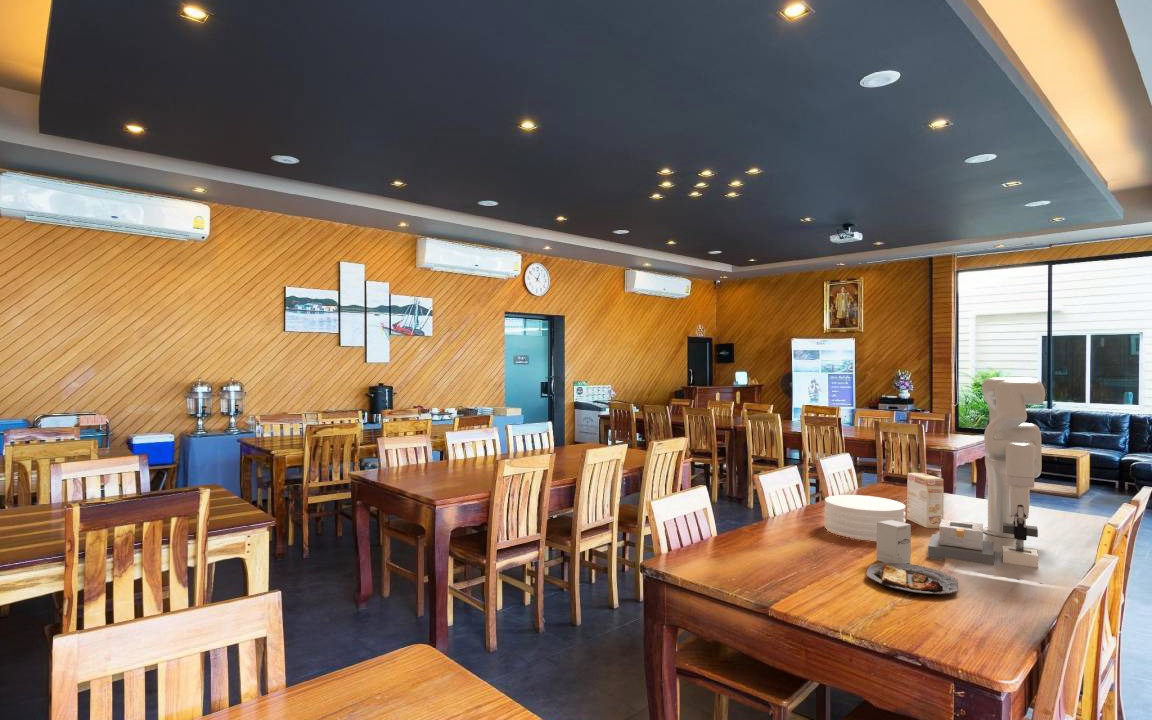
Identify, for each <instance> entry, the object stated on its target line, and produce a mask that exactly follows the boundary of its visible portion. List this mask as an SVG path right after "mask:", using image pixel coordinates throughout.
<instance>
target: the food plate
mask: <svg viewBox="0 0 1152 720" xmlns="http://www.w3.org/2000/svg"><path fill="white" fill-rule="evenodd" d="M865 575H866V577H867V578H868V579H870V580H871V581H873V582H875V583H878V584H880V585H881V586H886V588H887V587H888V588H892V589H897V590H901V591H906V592H910V593H912V594H921V595H922V594H923V595H940V596H941V595H946V596H948V595H952V593H953V594H955V593H957V592H958V589H959V580H958V579H957V578H956V577H954V576H952V575H949V574H947V573H945V572H943V571H940V570H937V569H933V568H932V567H931V568H930V567H927V566H921V565H919V564H913V563H912V564H911V563H907V564H904V563H884V562H878V563H874V564H871V565H868V568H867V570H866V573H865Z"/></svg>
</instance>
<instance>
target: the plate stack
mask: <svg viewBox="0 0 1152 720" xmlns="http://www.w3.org/2000/svg"><path fill="white" fill-rule="evenodd" d="M824 504H825V505H824V510H825V511H824V529H825V528H826V529H827V530H829V531H831V532H833V533H835V534H839V535H842V536H846V537H850V538H855V539H861V540H870V541H877V522H881V521H887V520H894V521H898V522H903V523H906V519H905V518H906V505H905V504H904V503H902V502H900V501H897V500H894V499H889V498H885V497H878V496H872V495H861V494H836V495H829V496H827V497H825V498H824ZM870 541H869V542H870Z"/></svg>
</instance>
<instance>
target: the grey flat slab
mask: <svg viewBox="0 0 1152 720" xmlns="http://www.w3.org/2000/svg"><path fill="white" fill-rule="evenodd" d="M994 545H995V543H994V541H987V540H983V550H975V549H968V548H961V547H954V546H947V545H940V544H939V534H934V533H932V535H931V537H930V541H929V542H928V545H927V558H928V559H930V560H931V559H932V560H940V561H944V562H945V561H946V559H952V560H957V561H965V562H970V563H971V562H972V563H977V564H984V565H989V566H994V565H995V563H994V562H995V561H994V560H995V557H994V554H995V551H994V549H995V548H994Z"/></svg>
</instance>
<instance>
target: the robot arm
mask: <svg viewBox="0 0 1152 720" xmlns="http://www.w3.org/2000/svg"><path fill="white" fill-rule="evenodd" d="M981 389H982V395H983V397H984V400H985V402H986V404H987V408H988V413H989V422H988V424H987V426H986V427H985V430H984V434H983V435H984V436H983V438H984V450H985V451H984V453H985V457H984V464H985V469H986V475H987V476H986V479H987V526H986V527H985V526H984V527H983V533H985V534H986V535H990V536H994V537H1000V538H1005V539H1006V538H1009V539H1014V540H1016V539H1018V540H1024V541H1027V539H1028V538H1027V537H1028V536H1027V527H1026V525H1027V524H1026V523H1027V520H1028V519H1029V515H1030V503H1031V502H1030V499H1031V498H1030V494H1031V493H1030V492H1031V491H1030V489H1033V488H1035V479H1037V478H1038V477H1040V475H1041V474H1042V468H1043V467H1042V463H1043V461H1042V432H1041V429H1040V427H1039V426H1038V425H1037V424H1035V423H1031V422H1030V423H1029V422H1026V421H1027V419H1028V414H1027V407H1026V405H1041V404H1043V403H1044V402H1045V399H1046V390H1045V387H1044V385H1043V383H1042V382H1041V381H1040V380H1039V379H1037V378H1034V377H1001V376H1000V377H988V378H986V379H984V380H983V381H982V385H981ZM1003 523H1012V524H1015V526H1014V534H1008V533H1003Z"/></svg>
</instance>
